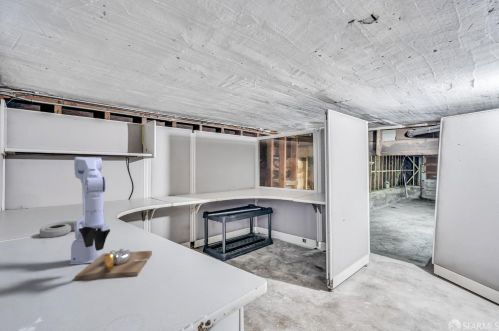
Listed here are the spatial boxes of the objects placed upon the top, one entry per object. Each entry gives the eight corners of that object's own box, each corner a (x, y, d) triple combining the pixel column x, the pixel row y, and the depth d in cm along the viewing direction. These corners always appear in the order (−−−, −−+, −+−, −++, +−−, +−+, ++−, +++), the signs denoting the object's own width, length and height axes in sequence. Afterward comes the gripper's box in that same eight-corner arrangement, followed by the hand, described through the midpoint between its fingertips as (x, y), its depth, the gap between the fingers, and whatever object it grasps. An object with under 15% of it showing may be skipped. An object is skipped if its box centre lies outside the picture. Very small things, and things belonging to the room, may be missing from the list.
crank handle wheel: (111, 258, 98) (111, 243, 98) (132, 256, 99) (132, 242, 99) (95, 273, 84) (95, 256, 84) (119, 271, 85) (119, 255, 85)
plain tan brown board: (74, 280, 82) (75, 275, 82) (103, 257, 103) (103, 253, 103) (140, 275, 85) (140, 271, 85) (154, 253, 107) (154, 250, 107)
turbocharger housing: (32, 240, 133) (59, 240, 133) (31, 229, 132) (58, 228, 132) (57, 230, 150) (80, 230, 149) (56, 220, 149) (80, 220, 149)
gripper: (71, 210, 87) (71, 248, 87) (93, 214, 80) (93, 255, 80) (92, 207, 93) (92, 242, 93) (114, 210, 86) (114, 249, 86)
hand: (94, 248), depth 87 cm, fingers open, 6 cm apart
